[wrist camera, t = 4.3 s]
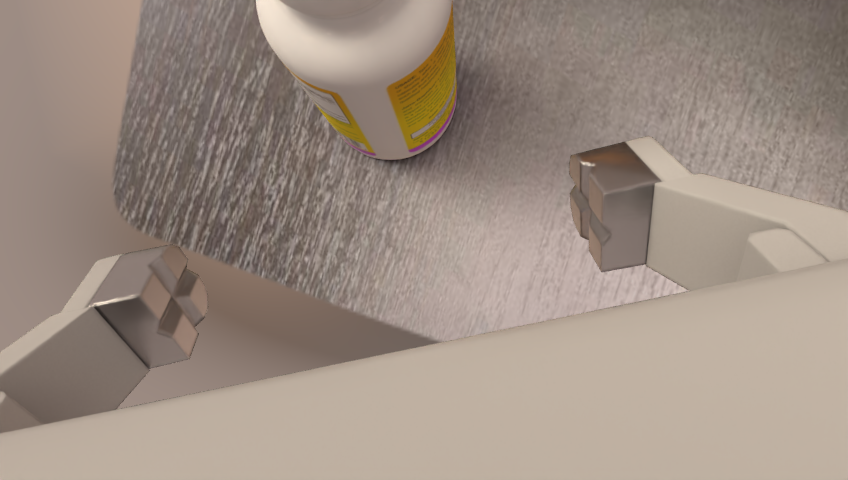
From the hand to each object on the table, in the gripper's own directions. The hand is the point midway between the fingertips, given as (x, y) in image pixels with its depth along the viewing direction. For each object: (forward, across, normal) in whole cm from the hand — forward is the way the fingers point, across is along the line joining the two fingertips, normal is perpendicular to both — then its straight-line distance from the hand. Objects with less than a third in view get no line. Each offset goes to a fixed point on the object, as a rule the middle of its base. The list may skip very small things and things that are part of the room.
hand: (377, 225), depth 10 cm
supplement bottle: (+17, 0, +4) cm, 17 cm away
